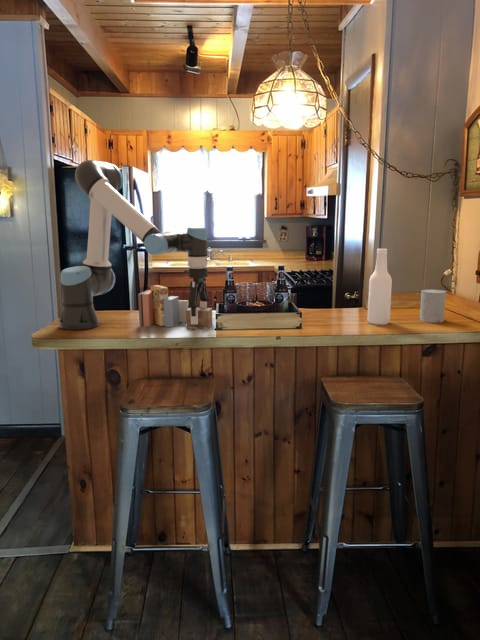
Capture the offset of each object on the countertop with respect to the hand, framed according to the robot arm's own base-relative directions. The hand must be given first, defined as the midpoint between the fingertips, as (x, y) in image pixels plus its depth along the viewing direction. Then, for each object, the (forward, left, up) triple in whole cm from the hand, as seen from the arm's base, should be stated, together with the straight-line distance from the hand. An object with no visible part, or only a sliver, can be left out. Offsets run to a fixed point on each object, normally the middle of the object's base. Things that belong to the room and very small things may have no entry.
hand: (199, 320), depth 205 cm
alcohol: (+70, +18, -2) cm, 73 cm away
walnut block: (0, 0, -2) cm, 2 cm away
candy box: (-17, 0, -2) cm, 17 cm away
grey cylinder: (+92, +28, -2) cm, 97 cm away
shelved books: (-17, 0, -2) cm, 17 cm away
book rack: (-16, +2, -2) cm, 16 cm away
